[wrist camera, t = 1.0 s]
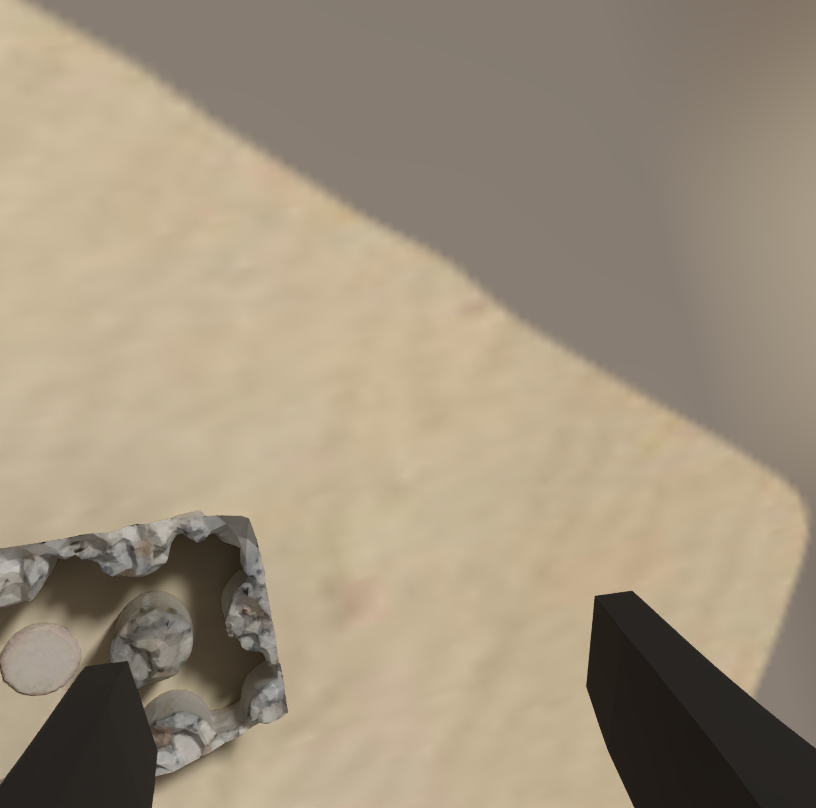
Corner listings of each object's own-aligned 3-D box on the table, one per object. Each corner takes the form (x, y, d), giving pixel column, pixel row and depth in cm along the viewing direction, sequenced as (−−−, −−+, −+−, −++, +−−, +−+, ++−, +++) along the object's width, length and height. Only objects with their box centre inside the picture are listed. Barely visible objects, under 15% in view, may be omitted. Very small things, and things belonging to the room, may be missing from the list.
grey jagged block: (-74, 802, 21) (-128, 887, 17) (-111, 555, 21) (-173, 586, 17) (279, 706, 25) (300, 759, 21) (250, 493, 25) (265, 507, 21)
